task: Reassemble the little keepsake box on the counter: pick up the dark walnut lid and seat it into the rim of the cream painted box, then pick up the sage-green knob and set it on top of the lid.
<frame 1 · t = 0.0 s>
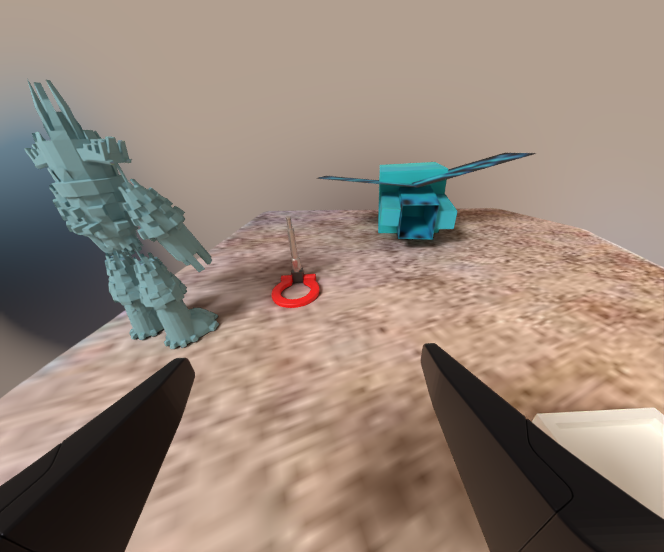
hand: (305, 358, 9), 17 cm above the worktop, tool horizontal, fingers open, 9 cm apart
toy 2: (406, 232, 68), on the worktop
box base: (656, 536, 16), on the worktop
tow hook: (296, 293, 44), on the worktop
toy: (174, 329, 38), on the worktop
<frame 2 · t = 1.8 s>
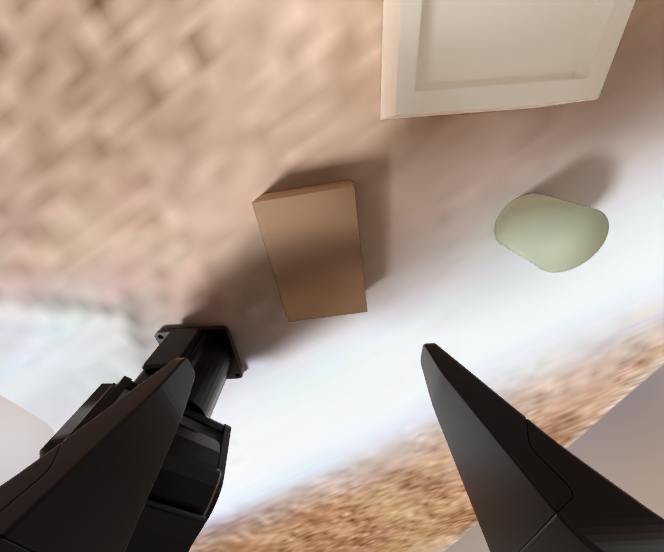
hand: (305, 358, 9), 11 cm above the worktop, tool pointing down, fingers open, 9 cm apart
knob: (522, 221, 18), on the worktop
lid: (318, 246, 19), on the worktop
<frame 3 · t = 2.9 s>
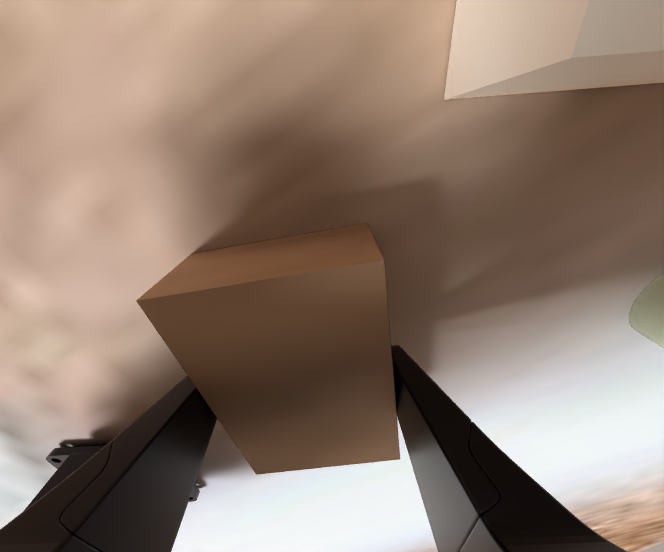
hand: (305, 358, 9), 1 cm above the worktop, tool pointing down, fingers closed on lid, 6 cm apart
lid: (307, 334, 11), on the worktop, touching gripper
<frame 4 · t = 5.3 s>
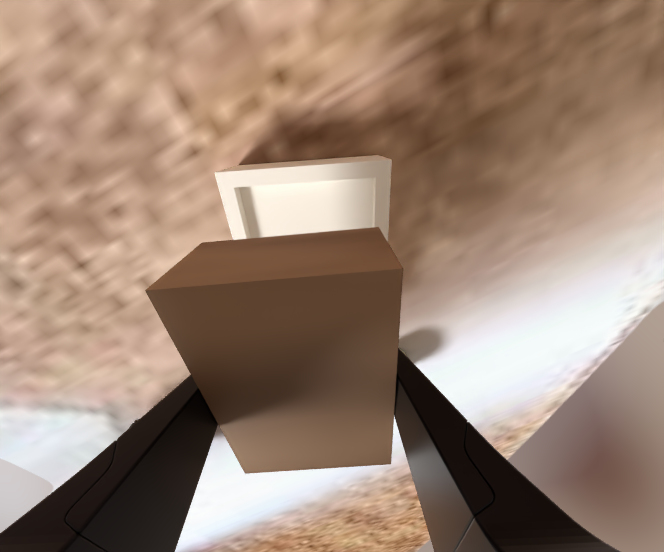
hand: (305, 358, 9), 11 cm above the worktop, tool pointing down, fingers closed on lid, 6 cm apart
box base: (316, 247, 19), on the worktop
lid: (307, 335, 10), point 10 cm above the worktop, touching gripper
when the fingers open (4 cm above the worktop, at t = 6.9 s): lid stays where it is, resting on box base.
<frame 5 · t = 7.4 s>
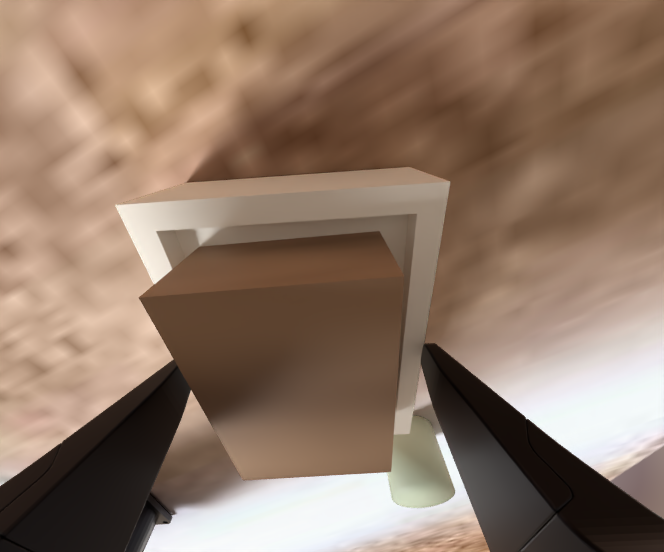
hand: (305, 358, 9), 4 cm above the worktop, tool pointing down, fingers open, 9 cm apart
knob: (405, 430, 19), on the worktop
box base: (311, 298, 13), on the worktop
lid: (306, 339, 10), point 3 cm above the worktop, touching box base
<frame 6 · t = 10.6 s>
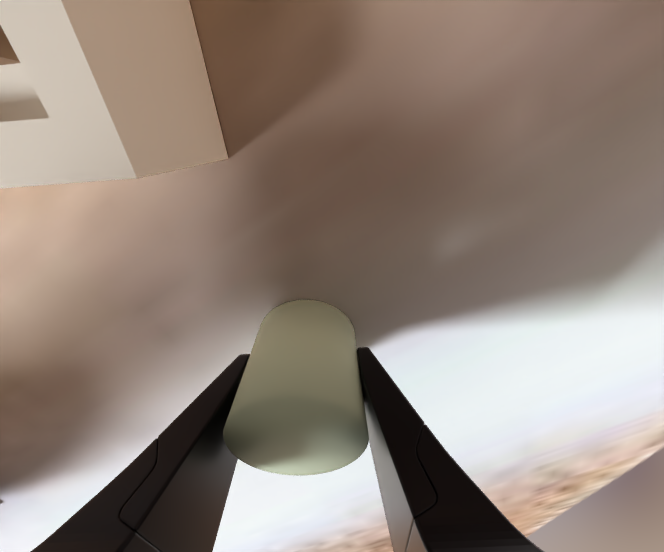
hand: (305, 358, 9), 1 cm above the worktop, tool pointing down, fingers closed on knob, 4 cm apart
knob: (307, 338, 10), on the worktop, touching gripper
when the fingers open (7 cm above the worktop, at t = 13.4 s): knob stays where it is, resting on lid.
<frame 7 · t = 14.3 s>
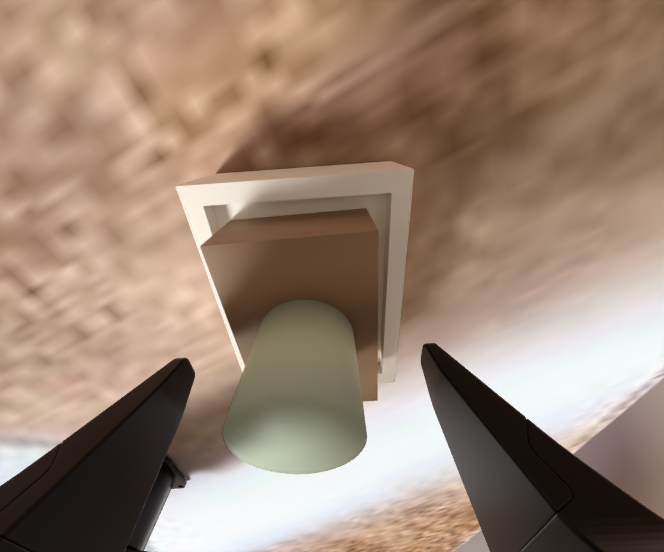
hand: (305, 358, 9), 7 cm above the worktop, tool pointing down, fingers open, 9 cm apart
knob: (306, 338, 10), point 6 cm above the worktop, touching lid
box base: (314, 270, 16), on the worktop
lid: (310, 298, 13), point 3 cm above the worktop, touching box base, knob
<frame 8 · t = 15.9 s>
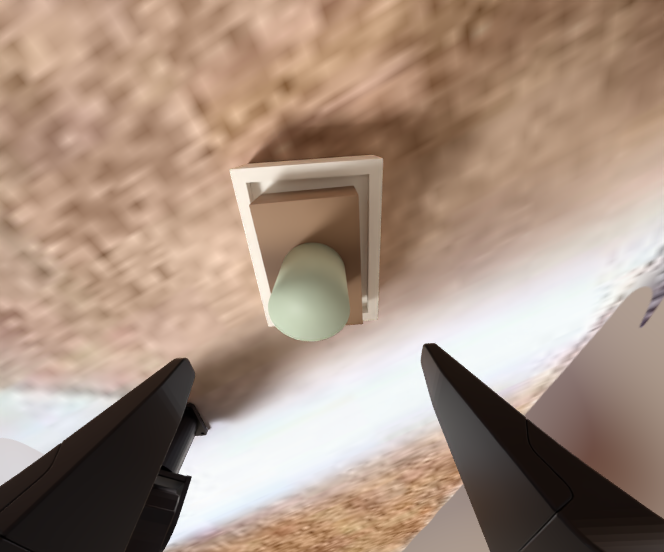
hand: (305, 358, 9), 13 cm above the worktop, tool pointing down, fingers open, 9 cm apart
knob: (313, 272, 16), point 6 cm above the worktop, touching lid
box base: (317, 238, 21), on the worktop
lid: (315, 253, 18), point 3 cm above the worktop, touching box base, knob
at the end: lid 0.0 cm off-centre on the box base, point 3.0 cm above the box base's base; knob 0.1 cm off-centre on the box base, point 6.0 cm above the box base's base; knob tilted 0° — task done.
